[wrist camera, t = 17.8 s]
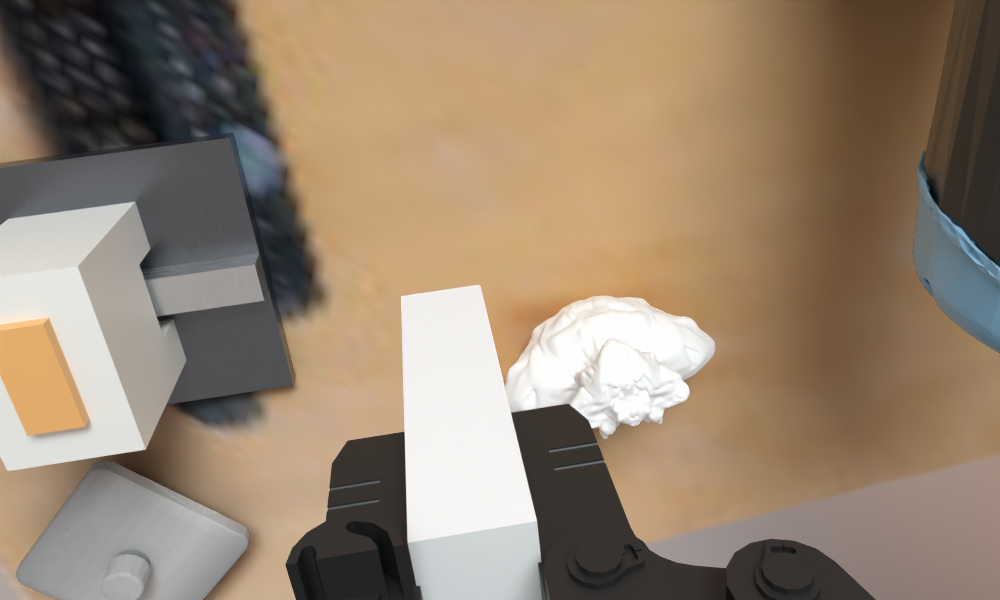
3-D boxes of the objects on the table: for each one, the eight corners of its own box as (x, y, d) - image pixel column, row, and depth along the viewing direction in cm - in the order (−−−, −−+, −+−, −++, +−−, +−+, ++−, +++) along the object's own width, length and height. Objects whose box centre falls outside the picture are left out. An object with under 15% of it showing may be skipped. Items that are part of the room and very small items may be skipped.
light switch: (110, 434, 45) (79, 492, 41) (261, 509, 49) (248, 570, 44) (28, 546, 48) (-10, 612, 43) (177, 609, 51) (157, 676, 47)
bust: (675, 285, 48) (717, 236, 37) (715, 407, 47) (770, 393, 36) (485, 339, 48) (469, 305, 37) (518, 462, 47) (512, 465, 36)
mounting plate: (233, 132, 39) (223, 145, 37) (295, 375, 45) (290, 399, 43) (-108, 177, 38) (-139, 193, 35) (4, 420, 44) (-16, 447, 42)
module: (135, 201, 39) (72, 272, 31) (186, 360, 43) (142, 457, 35) (8, 218, 38) (-88, 295, 31) (72, 377, 42) (1, 479, 35)
